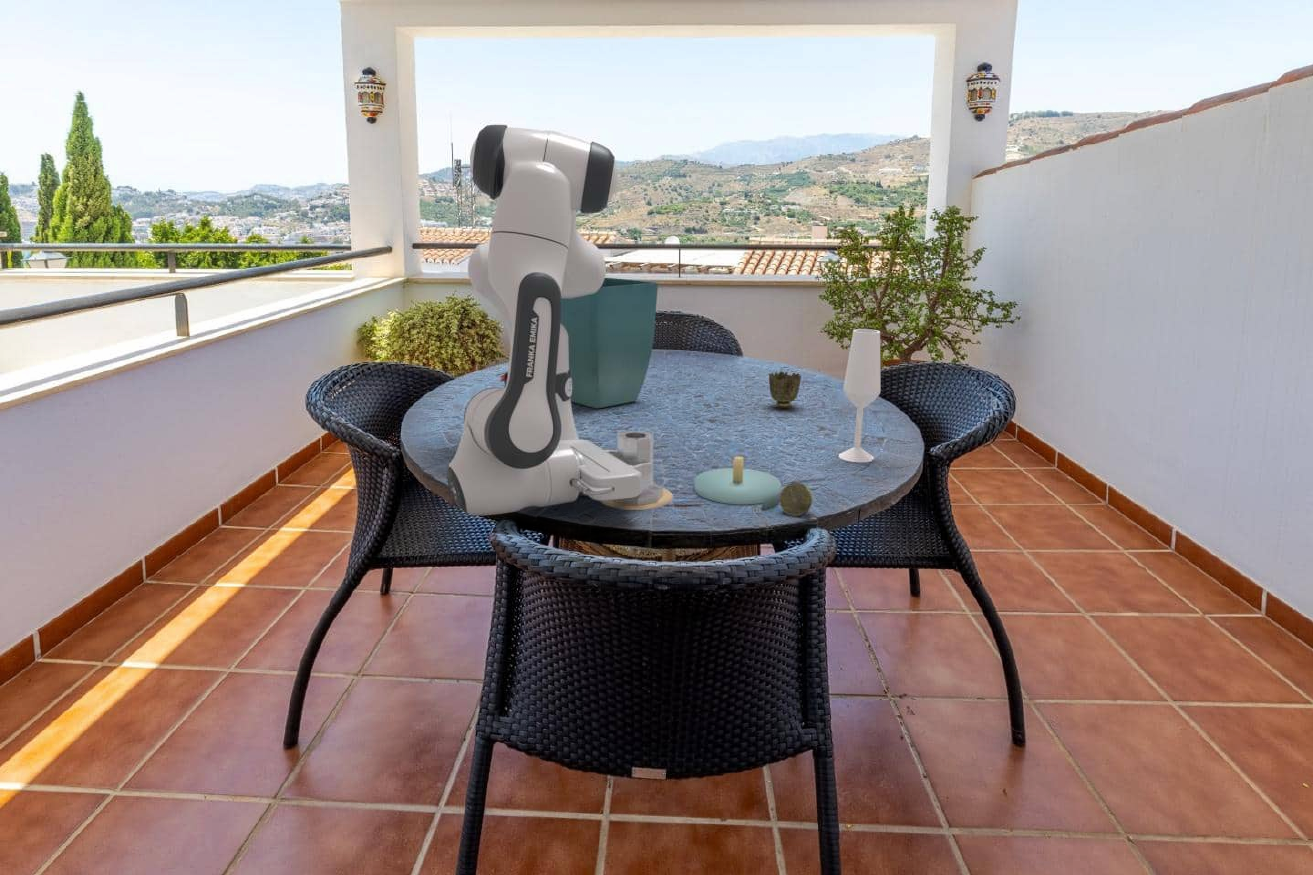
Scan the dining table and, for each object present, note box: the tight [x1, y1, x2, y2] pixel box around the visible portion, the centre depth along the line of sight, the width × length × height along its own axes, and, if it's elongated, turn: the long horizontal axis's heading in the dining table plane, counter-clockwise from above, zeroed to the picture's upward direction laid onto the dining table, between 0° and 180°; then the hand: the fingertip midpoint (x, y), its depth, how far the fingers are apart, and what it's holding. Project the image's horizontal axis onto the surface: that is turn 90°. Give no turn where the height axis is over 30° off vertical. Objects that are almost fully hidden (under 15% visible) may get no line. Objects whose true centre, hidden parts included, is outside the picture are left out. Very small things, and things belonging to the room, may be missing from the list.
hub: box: [694, 456, 782, 511], centre depth 135 cm, size 14×14×6 cm
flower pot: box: [561, 277, 659, 409], centre depth 194 cm, size 20×20×28 cm
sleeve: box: [613, 430, 664, 506], centre depth 130 cm, size 8×8×10 cm
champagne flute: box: [838, 328, 881, 463], centre depth 154 cm, size 7×7×24 cm
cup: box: [768, 370, 802, 410], centre depth 193 cm, size 8×7×8 cm
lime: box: [779, 481, 813, 517], centre depth 128 cm, size 4×5×5 cm
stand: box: [598, 487, 674, 511], centre depth 132 cm, size 12×12×1 cm
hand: (640, 461), depth 130 cm, fingers closed on sleeve, 5 cm apart
